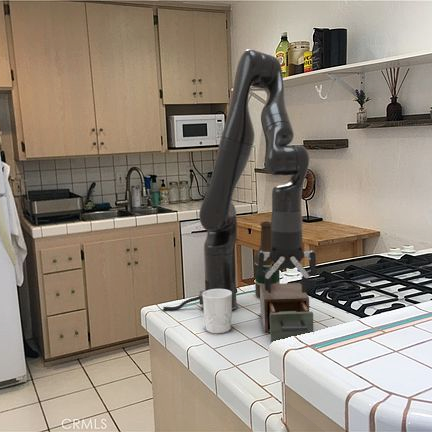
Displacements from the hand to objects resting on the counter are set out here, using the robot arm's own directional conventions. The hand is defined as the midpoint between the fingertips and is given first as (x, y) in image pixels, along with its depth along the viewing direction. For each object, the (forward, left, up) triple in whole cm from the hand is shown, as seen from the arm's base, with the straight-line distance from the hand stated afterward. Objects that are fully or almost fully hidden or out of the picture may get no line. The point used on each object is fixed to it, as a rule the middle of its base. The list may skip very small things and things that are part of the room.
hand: (286, 292), depth 125 cm
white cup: (-17, +8, -13) cm, 23 cm away
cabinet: (+1, +11, -12) cm, 17 cm away
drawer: (+1, 0, -12) cm, 12 cm away
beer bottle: (-1, +35, -13) cm, 37 cm away
